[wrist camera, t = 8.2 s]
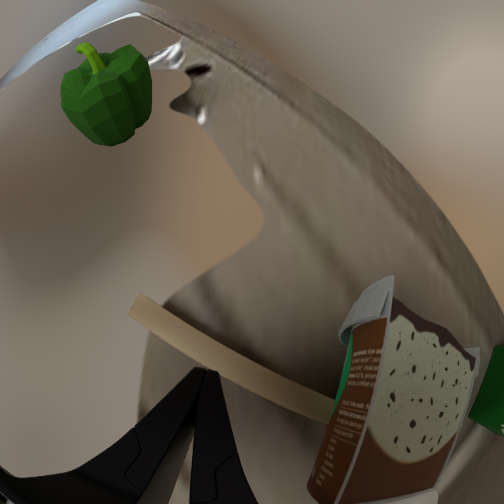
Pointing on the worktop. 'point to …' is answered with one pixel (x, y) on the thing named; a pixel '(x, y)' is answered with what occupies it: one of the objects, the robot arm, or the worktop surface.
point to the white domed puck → (420, 499)
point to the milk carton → (491, 395)
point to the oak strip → (230, 362)
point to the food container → (392, 404)
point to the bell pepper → (108, 94)
